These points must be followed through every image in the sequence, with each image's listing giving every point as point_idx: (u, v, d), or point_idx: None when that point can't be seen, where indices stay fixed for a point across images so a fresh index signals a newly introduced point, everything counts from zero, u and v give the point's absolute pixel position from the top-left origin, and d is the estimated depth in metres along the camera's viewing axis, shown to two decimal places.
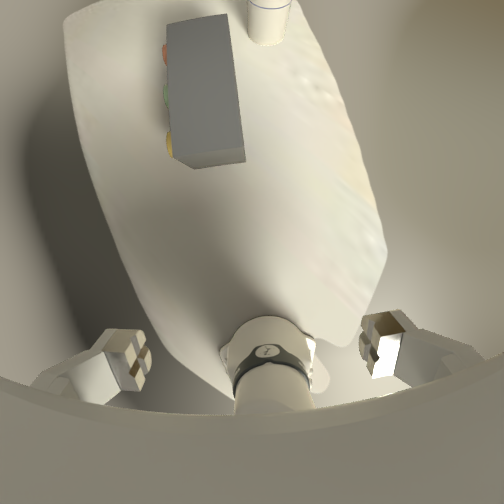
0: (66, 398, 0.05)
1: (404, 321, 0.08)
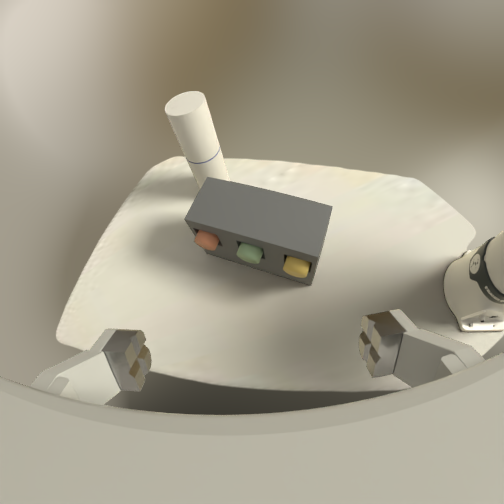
0: (66, 398, 0.05)
1: (405, 320, 0.08)
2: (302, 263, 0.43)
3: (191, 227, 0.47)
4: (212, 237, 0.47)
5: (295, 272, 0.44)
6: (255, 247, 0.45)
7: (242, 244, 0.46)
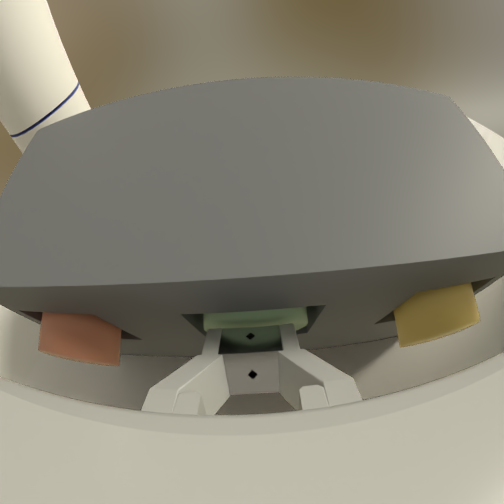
0: (66, 398, 0.05)
1: (289, 337, 0.08)
2: (471, 293, 0.09)
3: (14, 310, 0.09)
4: (87, 328, 0.09)
5: (443, 334, 0.10)
6: None
7: None
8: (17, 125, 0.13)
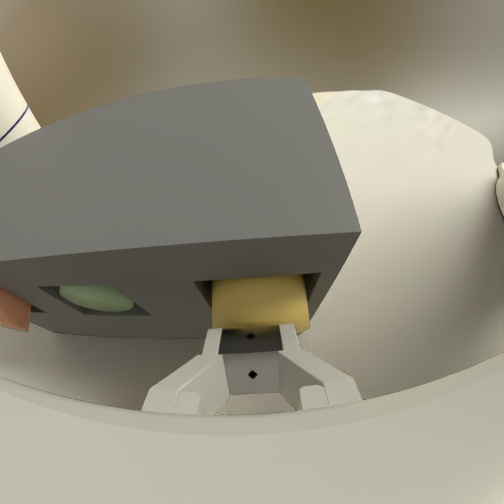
0: (66, 398, 0.05)
1: (289, 337, 0.08)
2: (281, 289, 0.10)
3: None
4: (1, 297, 0.11)
5: None
6: None
7: None
8: None
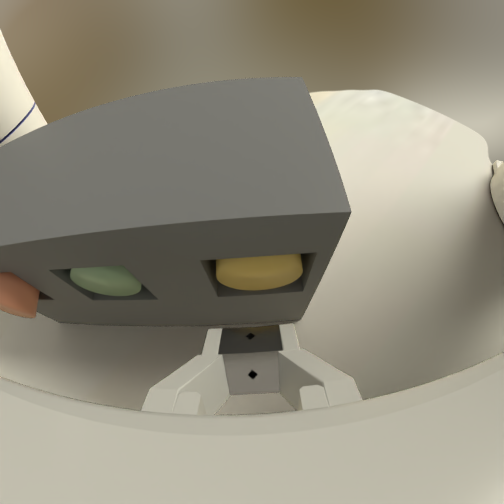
0: (66, 398, 0.05)
1: (289, 337, 0.08)
2: None
3: None
4: (11, 283, 0.12)
5: (262, 275, 0.13)
6: None
7: None
8: None
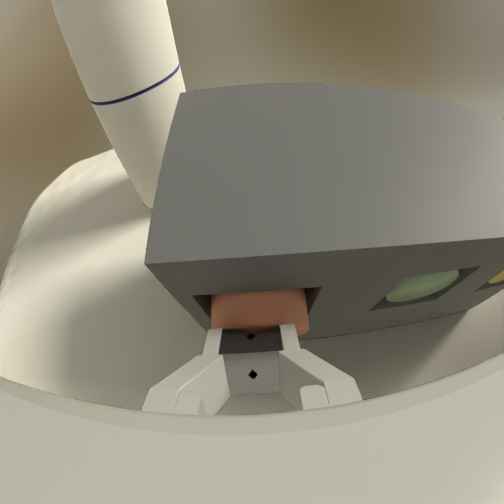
0: (66, 398, 0.05)
1: (289, 337, 0.08)
2: None
3: (183, 295, 0.10)
4: (295, 294, 0.10)
5: None
6: None
7: None
8: (114, 91, 0.14)
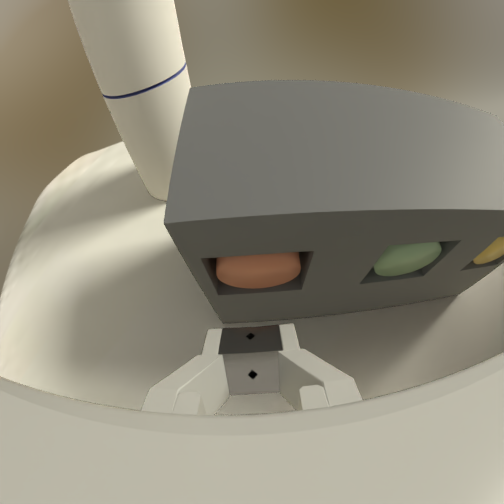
0: (66, 398, 0.05)
1: (289, 337, 0.08)
2: None
3: (193, 258, 0.11)
4: None
5: (498, 250, 0.13)
6: None
7: None
8: (127, 85, 0.15)
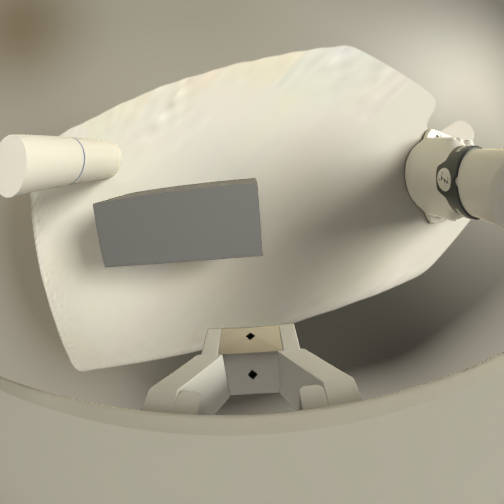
0: (66, 398, 0.05)
1: (289, 337, 0.08)
2: None
3: None
4: None
5: None
6: None
7: None
8: None
